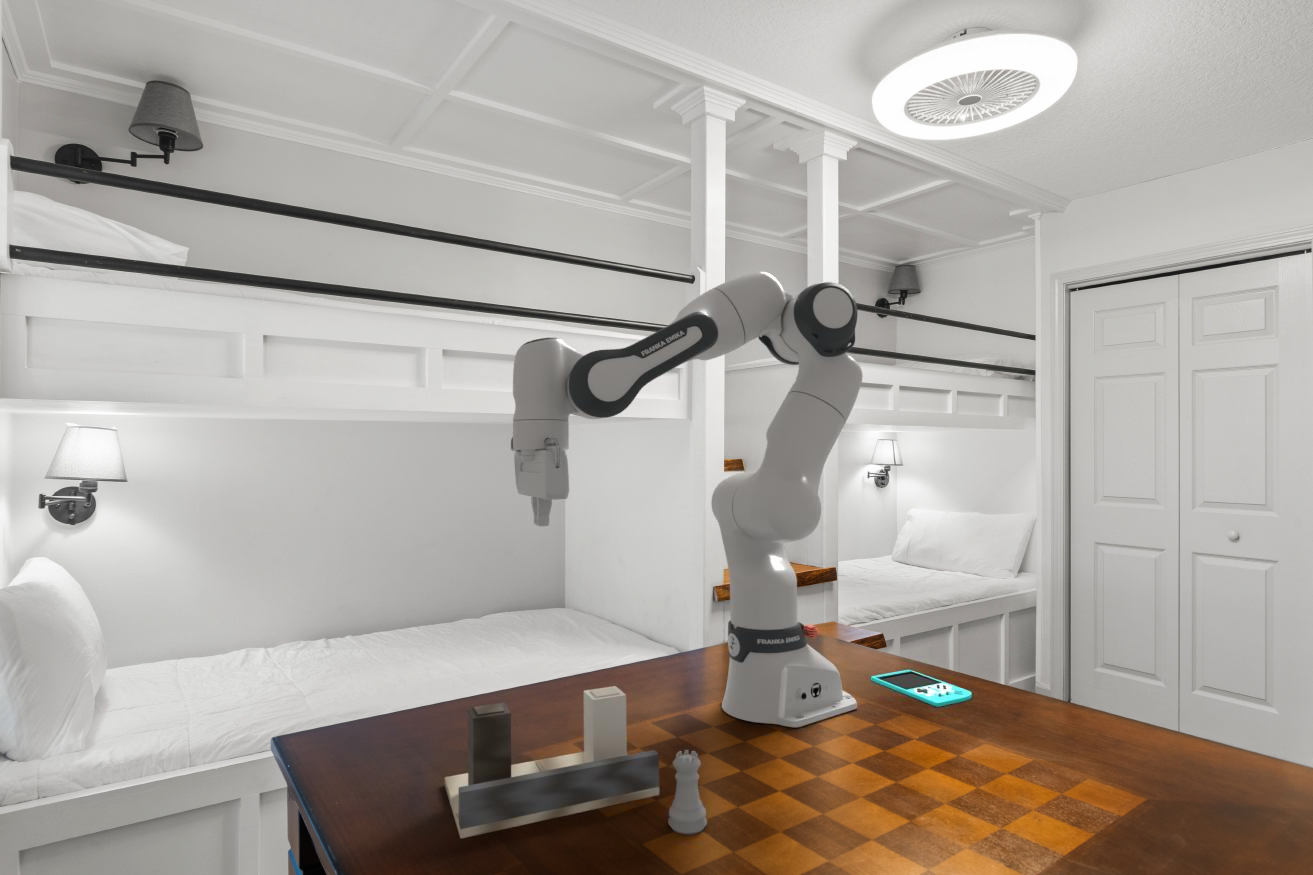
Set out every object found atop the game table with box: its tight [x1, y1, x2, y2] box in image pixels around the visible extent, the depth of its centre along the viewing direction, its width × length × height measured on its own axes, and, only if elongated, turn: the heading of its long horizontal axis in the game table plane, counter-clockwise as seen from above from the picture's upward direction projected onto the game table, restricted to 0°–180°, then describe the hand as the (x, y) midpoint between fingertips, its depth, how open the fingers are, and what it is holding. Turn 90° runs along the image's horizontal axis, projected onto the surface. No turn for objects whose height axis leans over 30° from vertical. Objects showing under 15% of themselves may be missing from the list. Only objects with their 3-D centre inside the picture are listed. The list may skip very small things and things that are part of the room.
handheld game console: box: [870, 669, 973, 708], centre depth 126 cm, size 10×16×1 cm, turn 25°
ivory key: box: [583, 685, 628, 763], centre depth 93 cm, size 4×4×10 cm
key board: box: [444, 749, 660, 839], centre depth 89 cm, size 24×14×5 cm, turn 114°
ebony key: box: [467, 702, 512, 785], centre depth 87 cm, size 4×4×10 cm
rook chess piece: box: [667, 749, 708, 836], centre depth 80 cm, size 4×4×8 cm
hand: (541, 525), depth 113 cm, fingers closed
